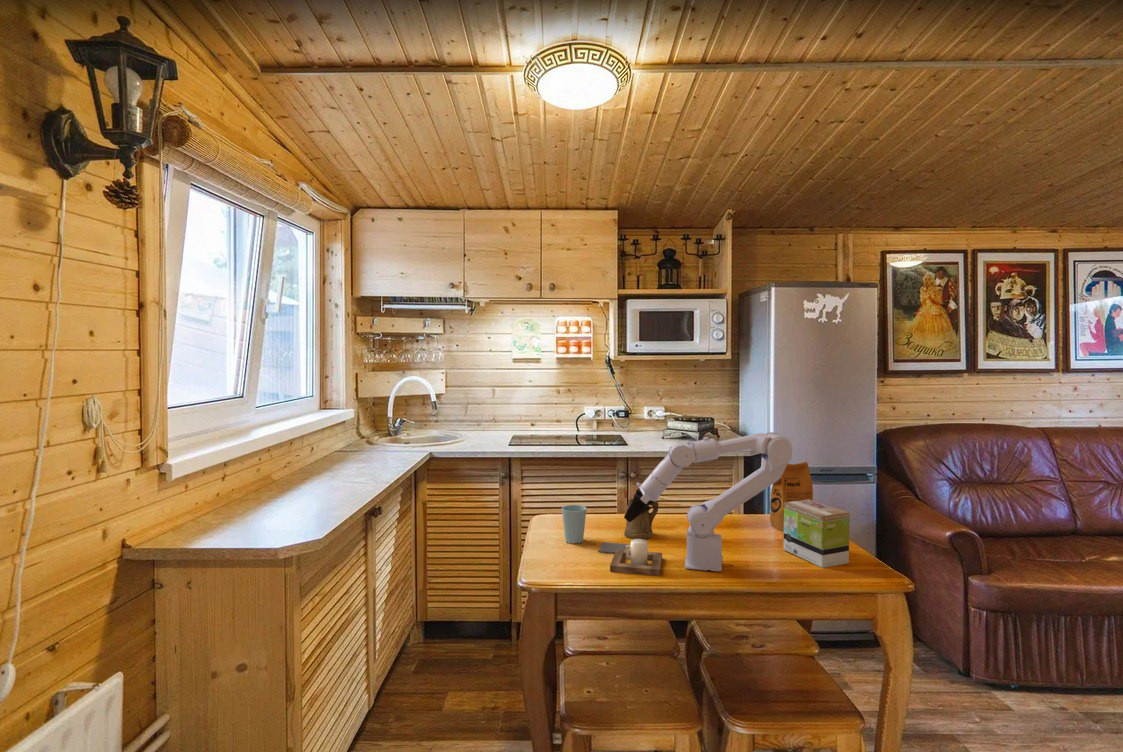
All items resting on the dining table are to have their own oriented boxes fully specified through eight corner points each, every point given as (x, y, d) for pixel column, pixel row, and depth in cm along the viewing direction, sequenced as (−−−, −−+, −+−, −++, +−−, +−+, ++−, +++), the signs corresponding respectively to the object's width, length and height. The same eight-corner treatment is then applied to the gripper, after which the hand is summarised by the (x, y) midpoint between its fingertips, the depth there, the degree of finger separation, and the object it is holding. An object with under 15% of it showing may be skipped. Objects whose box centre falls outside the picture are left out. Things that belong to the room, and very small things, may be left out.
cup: (576, 546, 166) (576, 512, 166) (556, 541, 171) (556, 508, 171) (591, 540, 172) (591, 507, 172) (571, 535, 177) (571, 503, 177)
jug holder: (662, 558, 157) (662, 552, 157) (659, 575, 144) (659, 569, 144) (616, 554, 160) (616, 549, 160) (609, 571, 147) (609, 565, 147)
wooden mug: (669, 538, 174) (669, 482, 173) (627, 540, 173) (627, 483, 172) (661, 530, 183) (662, 476, 182) (621, 531, 182) (621, 477, 181)
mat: (628, 545, 167) (628, 544, 167) (625, 554, 160) (625, 553, 160) (602, 543, 169) (602, 542, 169) (598, 552, 162) (598, 550, 162)
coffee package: (766, 523, 190) (766, 460, 189) (801, 522, 191) (801, 459, 190) (779, 532, 180) (780, 465, 179) (816, 531, 181) (817, 464, 180)
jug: (648, 562, 153) (648, 539, 153) (646, 568, 149) (646, 545, 149) (627, 561, 155) (627, 538, 155) (625, 567, 150) (625, 543, 150)
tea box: (781, 550, 163) (782, 501, 162) (808, 546, 166) (808, 498, 166) (822, 569, 149) (823, 514, 148) (850, 564, 152) (851, 510, 152)
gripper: (649, 467, 160) (619, 502, 161) (646, 473, 146) (613, 512, 147) (668, 483, 158) (638, 519, 160) (667, 491, 144) (634, 530, 146)
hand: (628, 516), depth 153 cm, fingers open, 7 cm apart
